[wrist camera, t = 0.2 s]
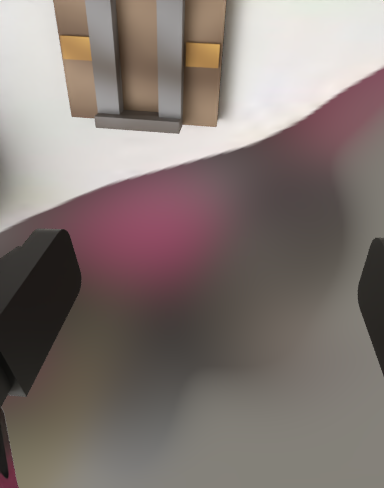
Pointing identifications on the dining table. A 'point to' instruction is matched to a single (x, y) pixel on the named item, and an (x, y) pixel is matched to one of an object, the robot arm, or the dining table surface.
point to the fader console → (143, 61)
